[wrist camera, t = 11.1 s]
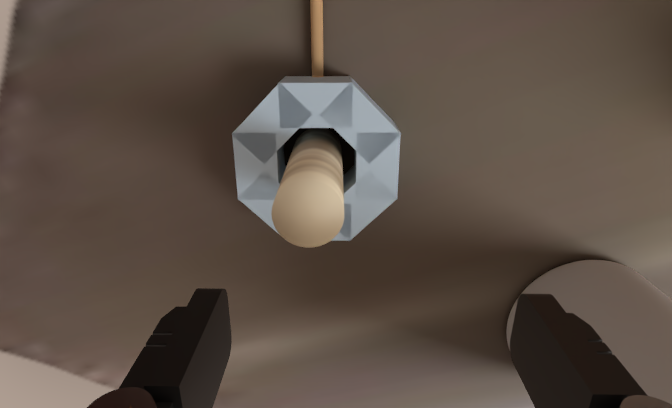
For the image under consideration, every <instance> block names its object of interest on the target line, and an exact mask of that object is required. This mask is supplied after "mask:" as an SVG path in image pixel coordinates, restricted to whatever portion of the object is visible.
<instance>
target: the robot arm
mask: <svg viewBox="0 0 672 408" xmlns="http://www.w3.org/2000/svg"><path fill="white" fill-rule="evenodd" d="M230 350H231V327H230V317H229V307H228V297H227V292H226V290H225V289H202V288H198V289H196V291H195V292H194V294H193V296H192V298H191V300H190V302H189V303H188V305H187V307H175V308H174V309H173V310H171V311H170V312H169V313H168V314H166V315H165V316H164V317H163V318H161V320H160V321H159V323H158V325H157V326H156V328H155V330H154V331H153V335H151V336H150V338H149V340H148V341H147V343H146V347H144V348H143V349H142V351H141V353H140V354H139V356H138V358H137V359H136V361H135V363H134V364H133V366H132V368H131V369H130V371H129V373H128V374H127V376H126V378H125V379H124V381H123V382H122V384H121V386H120V387H119V389H116V390H113V391H111V392H108V393H106V394H104V395H102V396H101V397H99V398H98V399H96V400H95V401H94V402H93V403H91V404H90V405H89V406H88V407H87V408H212V407H213V404H214V401H215V398H216V395H217V392H218V389H219V386H220V383H221V380H222V377H223V374H224V371H225V368H226V365H227V362H228V359H229V356H230ZM510 353H511V358H512V361H513V364H514V366H515V368H516V370H517V372H518V374H519V376H520V378H521V380H522V382H523V384H524V386H525V388H526V390H527V392H528V394H529V396H530V398H531V400H532V402H533V404H534V406H535V408H672V404H670V403H668V402H665V401H663V400H660V399H658V398H654V397H651V396H648V395H647V394H646V393H645V392H644V390H643V389H642V388H641V387H640V386H639V384H638V383H637V382H636V381H635V379H634V378H633V377H632V376H631V374H630V373H629V372H628V371H627V370H626V368H625V367H624V366H623V365H622V363H621V362H620V361H619V360H618V358H617V357H616V356H615V355H612V351H611V350H610V349H609V347H608V346H607V345H606V344H605V343H603V342H602V339H601V338H600V336H599V335H598V334H597V333H596V331H595V330H594V329H593V328H592V326H591V325H589V324H588V323H586V322H585V321H584V320H582V319H581V318H579V317H578V316H576V315H575V314H574V313H566V312H565V310H564V309H563V308H562V306H561V305H560V304H559V303H558V301H557V300H556V299H555V297H554V296H553V295H551V294H521V295H520V296H519V298H518V301H517V307H516V312H515V317H514V322H513V327H512V332H511V338H510Z"/></svg>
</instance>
